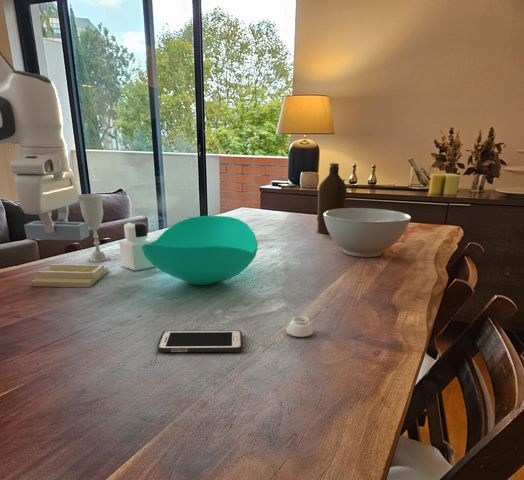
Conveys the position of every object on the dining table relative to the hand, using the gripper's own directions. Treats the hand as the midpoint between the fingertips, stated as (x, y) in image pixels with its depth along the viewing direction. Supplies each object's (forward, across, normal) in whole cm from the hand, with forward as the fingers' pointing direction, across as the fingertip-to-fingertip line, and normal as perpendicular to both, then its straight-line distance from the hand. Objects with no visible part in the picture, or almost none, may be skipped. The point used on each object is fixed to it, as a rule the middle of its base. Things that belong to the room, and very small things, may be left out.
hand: (57, 229), depth 101 cm
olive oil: (+14, -81, +70) cm, 108 cm away
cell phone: (+14, +27, +36) cm, 47 cm away
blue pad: (+2, 0, 0) cm, 2 cm away
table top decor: (+15, -12, +30) cm, 36 cm away
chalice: (+15, -32, -4) cm, 35 cm away
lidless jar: (+14, +21, +54) cm, 59 cm away
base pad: (+15, -12, -4) cm, 19 cm away
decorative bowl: (+14, -47, +77) cm, 91 cm away
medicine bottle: (+15, -25, +10) cm, 30 cm away
